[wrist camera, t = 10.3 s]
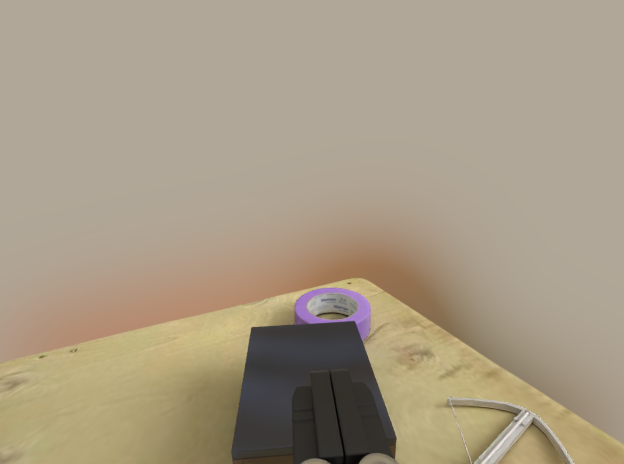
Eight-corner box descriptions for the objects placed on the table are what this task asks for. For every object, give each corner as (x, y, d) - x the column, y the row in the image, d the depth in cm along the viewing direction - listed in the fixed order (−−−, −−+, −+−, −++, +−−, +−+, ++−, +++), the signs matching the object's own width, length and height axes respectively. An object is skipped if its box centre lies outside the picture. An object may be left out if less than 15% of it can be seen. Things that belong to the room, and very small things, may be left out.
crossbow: (471, 389, 42) (473, 374, 42) (599, 465, 33) (605, 448, 32) (384, 460, 33) (386, 443, 32) (531, 598, 23) (537, 577, 22)
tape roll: (379, 345, 49) (380, 322, 48) (298, 353, 48) (297, 329, 47) (359, 304, 60) (359, 285, 59) (293, 310, 59) (292, 290, 58)
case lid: (251, 332, 41) (251, 327, 41) (355, 326, 42) (355, 320, 42) (232, 459, 26) (231, 451, 26) (396, 445, 27) (396, 437, 26)
